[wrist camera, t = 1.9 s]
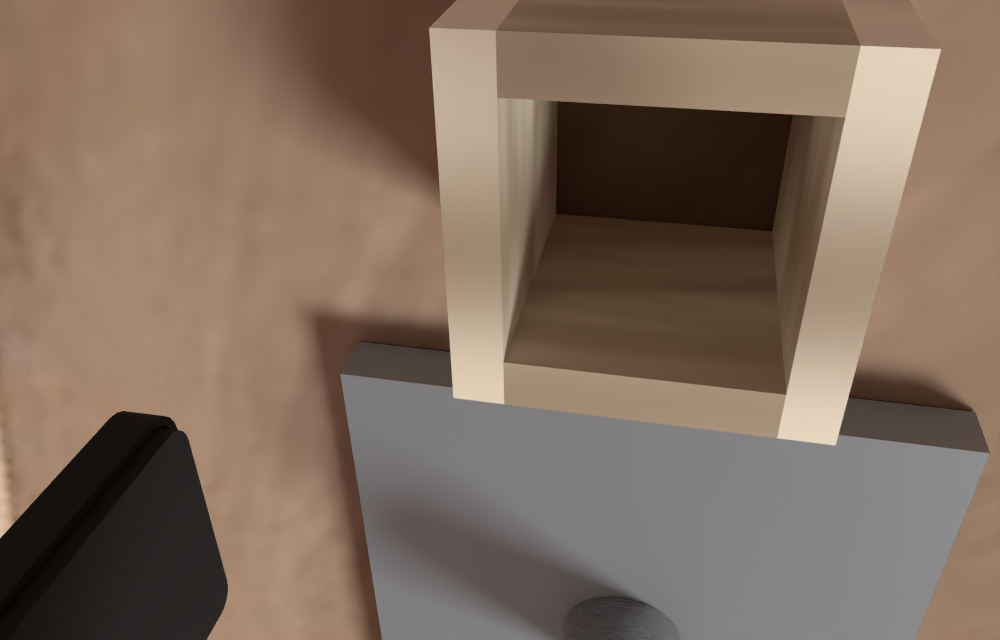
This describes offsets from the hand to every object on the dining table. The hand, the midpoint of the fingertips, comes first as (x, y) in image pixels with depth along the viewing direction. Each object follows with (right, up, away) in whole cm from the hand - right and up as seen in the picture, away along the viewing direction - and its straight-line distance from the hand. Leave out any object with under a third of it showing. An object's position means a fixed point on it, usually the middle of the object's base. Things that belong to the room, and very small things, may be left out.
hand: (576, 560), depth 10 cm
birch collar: (+3, +7, +9) cm, 12 cm away
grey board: (+3, -6, +18) cm, 19 cm away
